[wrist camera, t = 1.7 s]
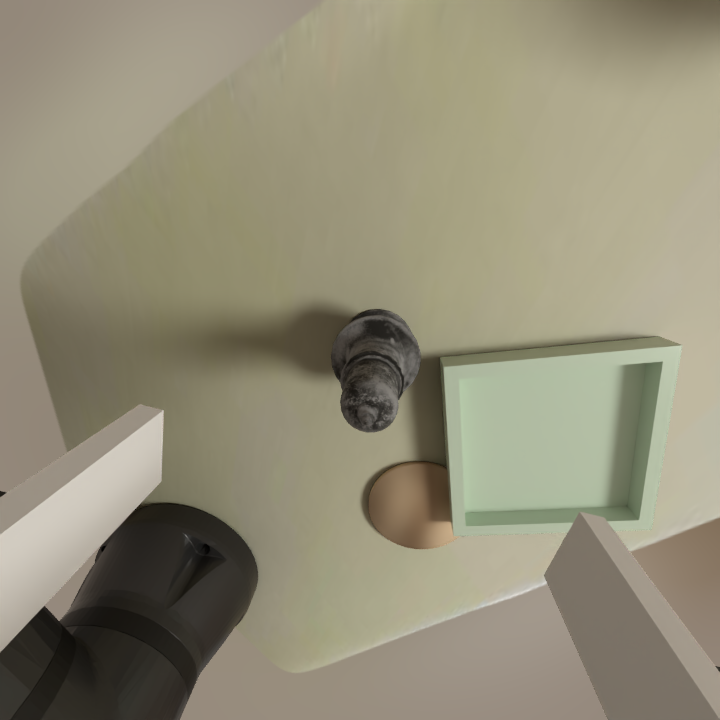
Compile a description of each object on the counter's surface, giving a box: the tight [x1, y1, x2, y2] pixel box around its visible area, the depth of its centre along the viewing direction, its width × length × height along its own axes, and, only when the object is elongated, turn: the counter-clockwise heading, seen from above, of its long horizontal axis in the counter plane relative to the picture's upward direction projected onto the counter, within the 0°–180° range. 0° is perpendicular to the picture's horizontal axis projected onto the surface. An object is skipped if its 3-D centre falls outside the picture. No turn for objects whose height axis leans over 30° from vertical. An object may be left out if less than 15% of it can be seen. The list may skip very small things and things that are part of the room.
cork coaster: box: [368, 461, 460, 549], centre depth 31 cm, size 9×9×1 cm
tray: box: [440, 337, 682, 536], centre depth 27 cm, size 15×15×2 cm
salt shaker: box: [331, 309, 421, 432], centre depth 21 cm, size 6×6×12 cm
